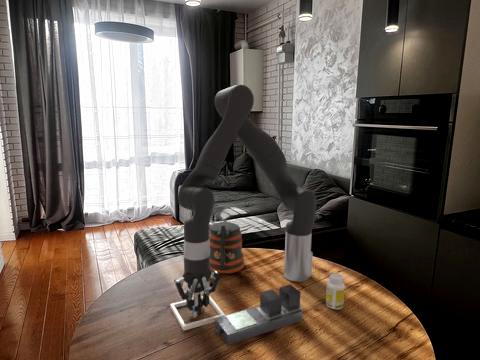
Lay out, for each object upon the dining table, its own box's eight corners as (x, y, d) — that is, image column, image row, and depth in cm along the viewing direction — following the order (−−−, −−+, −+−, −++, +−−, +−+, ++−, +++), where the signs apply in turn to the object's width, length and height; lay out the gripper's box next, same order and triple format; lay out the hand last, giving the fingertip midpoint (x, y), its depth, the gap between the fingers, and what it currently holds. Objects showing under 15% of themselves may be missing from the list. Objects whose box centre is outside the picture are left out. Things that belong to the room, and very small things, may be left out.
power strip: (289, 305, 106) (290, 281, 104) (305, 319, 99) (306, 293, 97) (209, 329, 93) (209, 302, 92) (221, 347, 86) (221, 318, 85)
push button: (203, 320, 98) (202, 288, 96) (185, 318, 98) (184, 287, 96) (208, 307, 104) (207, 277, 102) (191, 306, 105) (190, 276, 103)
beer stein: (245, 280, 121) (246, 227, 117) (204, 281, 121) (204, 227, 117) (243, 258, 140) (243, 211, 136) (207, 258, 139) (207, 211, 135)
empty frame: (208, 297, 109) (208, 294, 109) (225, 318, 98) (225, 314, 98) (170, 307, 104) (170, 304, 103) (183, 330, 93) (183, 326, 93)
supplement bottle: (344, 303, 107) (346, 274, 106) (341, 311, 103) (344, 282, 101) (327, 299, 110) (329, 270, 108) (323, 307, 105) (325, 278, 103)
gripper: (214, 244, 104) (215, 295, 107) (169, 253, 98) (171, 307, 101) (224, 253, 97) (224, 307, 101) (176, 263, 91) (178, 320, 94)
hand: (197, 307), depth 101 cm, fingers closed on push button, 4 cm apart
